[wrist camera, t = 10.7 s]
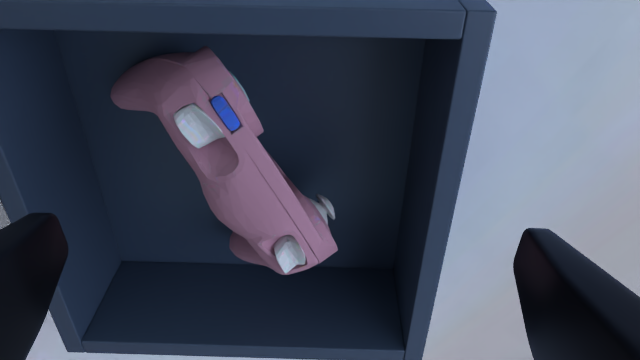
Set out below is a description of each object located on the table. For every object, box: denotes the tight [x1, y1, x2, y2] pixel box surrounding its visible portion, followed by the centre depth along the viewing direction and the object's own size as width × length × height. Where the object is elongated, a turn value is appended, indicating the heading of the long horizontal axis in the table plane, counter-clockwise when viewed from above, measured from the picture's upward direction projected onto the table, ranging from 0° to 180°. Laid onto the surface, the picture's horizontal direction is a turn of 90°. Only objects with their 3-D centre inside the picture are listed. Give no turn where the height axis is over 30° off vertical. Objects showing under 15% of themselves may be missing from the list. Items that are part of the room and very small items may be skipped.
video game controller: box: [110, 46, 338, 275], centre depth 19 cm, size 10×5×7 cm, turn 26°
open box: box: [0, 0, 497, 360], centre depth 20 cm, size 16×15×6 cm
